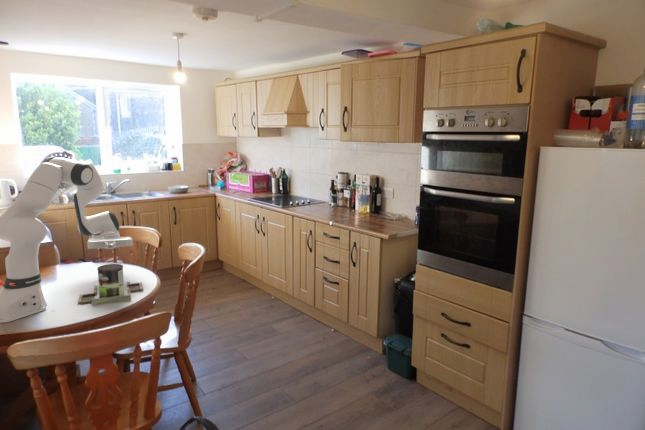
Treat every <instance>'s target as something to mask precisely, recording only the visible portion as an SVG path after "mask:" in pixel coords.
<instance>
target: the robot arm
mask: <svg viewBox="0 0 645 430" xmlns="http://www.w3.org/2000/svg"><path fill="white" fill-rule="evenodd" d="M27 179H28V180H27V181H26V183H25V185H23V188H22V190H21V192H20V194H19V195H18V197H17V198H16V199H15V201H14V202H13V203H12V204H11V205H10V206H9V207H8V208H7V209H6V210H5V212H3V213H2V214H1V215H0V240H2V241H6V242H9V243H10V247H9V252H8V255H7V256H6V257H5V260H4V263H5V271H6V277H5V280H2V279H1V280H0V286H2V287H3V288H1V290H0V323H2V324H3V323H10V322H13V321H16V320H18V319H21V318H25V317H28V316H31V315H34V314H36V313H40V312H43V311H45V310H47V308H46V307H47V302H46V300H45V295H44V293H43V290H42V285H41V282H42V277H41V276H42V275H41V272H40V268H39V252H40V246H41V243H42V241H44V239H46V236H47V233H48V232H47V227H46V225H45V224H44V223H43V222H41V221H40V220H39V219H37V218H38V216H39V215H41V214H42V213H44V212H45V211H47V210H48V209H49V207H50V205H51V204H52V201H53V199H54V197H55V195H56V193H57V191H58V189H59V187H60V185H61V183H63V184H67V185H74V186H76V192H75V193H74V194H73V205H74V209H75V214H76V219H77V229H78V232H79V234H80V235H82V236H83V237H89V238H88V240H87V242H86V245H87V249H88V250H93V249H106V250H114V249H116V248H118V247H119V248H121V247H132V246H134V243H133V242H134V241H133V240H134V239H133V238H132V237H131V236H121V234H120V231H119V229H120V223H119V219H118V217H117V216H116V214H115V213H114V212H112V211H110V210H107V211H103V212H98V213H97V214H94V215H93V214H92V215H89V216H86V211H85V207H86V206H87V205H88V204H89V203H91V202H93V201H96V199H98V198H99V197H100V196H101V195H102V193H103V191H104V186H103V185H104V183H103V181H102V178H101V176H100V173H99V172H98V170H97V169H96V167H95V165H94V164H93V163H92V162H90V161H88V160H81V161H79V160H78V161H77V160H76V159H75V160H74V159H72V158H69V157H68V158H66V157H60V156H55V155H54V156H53V155H52V156H48V157H47V158H45V159H44V160H43V162H42V163H40V164H39V165H37V167H36V168H35V169H34V171H33V172H32V173H31V175H30V176H29V178H27Z"/></svg>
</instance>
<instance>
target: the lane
mask: <svg viewBox="0 0 645 430" xmlns="http://www.w3.org/2000/svg"><path fill="white" fill-rule="evenodd" d="M126 286H127V288H128V289H127V294H124V295H120V296H112V297H103V298H99V297H98V298H97V297H96V296H97V294H98V293H97V292H98V285H94V287H93V291H92V292H91V293H82V294H79V297H78V301H77V305H78V306H79V304H80V305H86V304H91V306H97V305H98V306H99V305H106V304H114V303H121V302H130V300H131V301H132V294H131V293H138V292H137V291H139V292H143V291H144V288H143V287H144V286H143V282H134V283H132V282H130V281H128V282H126ZM95 297H96V298H95Z"/></svg>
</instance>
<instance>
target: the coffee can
mask: <svg viewBox="0 0 645 430" xmlns="http://www.w3.org/2000/svg"><path fill="white" fill-rule="evenodd" d="M123 268H124V266H123V265H122V264H118V263H107V264H104V265H100V266H98V267H97V275H98V277H97V278H98V293H99V294H98V295H99V297H98V298H103V297H112V296H120V295H125V287H124V285H125V284H124V269H123Z"/></svg>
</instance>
